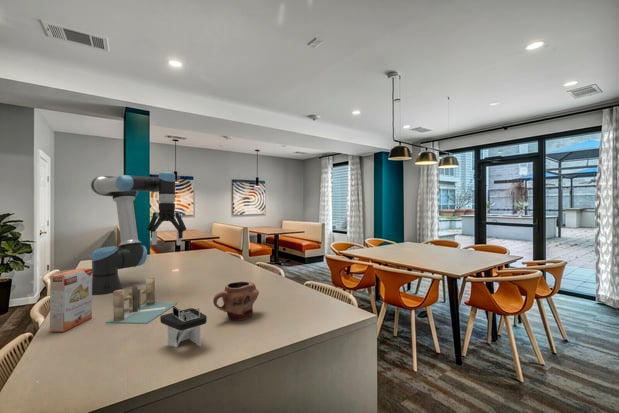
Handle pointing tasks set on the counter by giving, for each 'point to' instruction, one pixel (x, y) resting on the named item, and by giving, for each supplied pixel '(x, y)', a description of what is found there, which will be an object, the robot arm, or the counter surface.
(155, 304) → the card
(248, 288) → the brown sculpted mug
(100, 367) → the counter surface
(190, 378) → the counter surface
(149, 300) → the fence panel
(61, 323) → the cracker box
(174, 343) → the black-topped pedestal
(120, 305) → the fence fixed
